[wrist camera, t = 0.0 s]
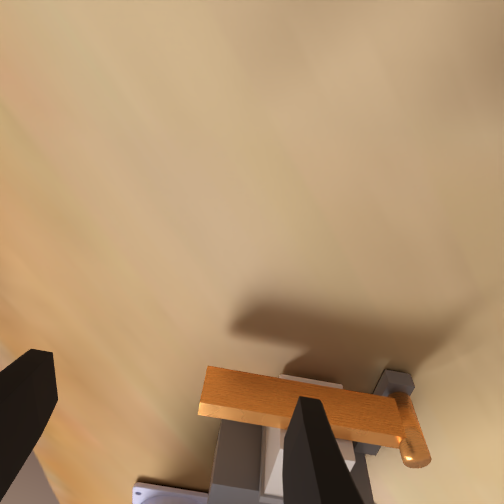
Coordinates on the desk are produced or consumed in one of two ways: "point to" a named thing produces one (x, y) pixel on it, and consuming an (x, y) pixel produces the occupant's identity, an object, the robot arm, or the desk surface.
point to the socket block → (249, 454)
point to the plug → (274, 453)
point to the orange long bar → (335, 404)
